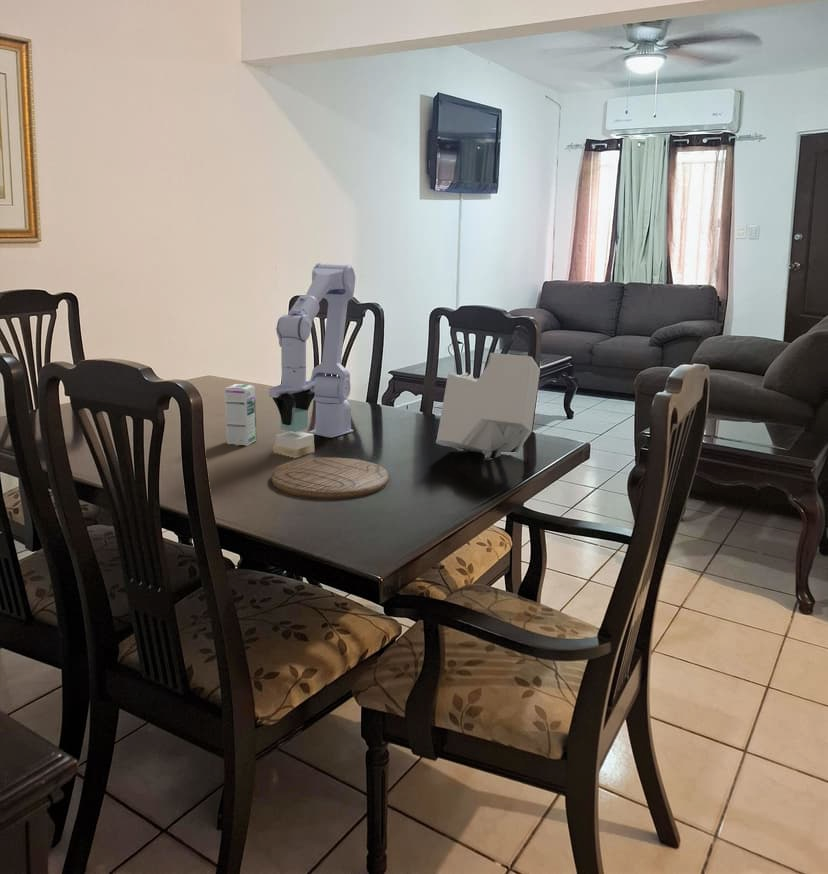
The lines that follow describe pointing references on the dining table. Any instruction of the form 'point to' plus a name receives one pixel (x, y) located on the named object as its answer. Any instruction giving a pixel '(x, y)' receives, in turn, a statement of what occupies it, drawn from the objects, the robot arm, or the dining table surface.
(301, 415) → the teal cube
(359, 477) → the trivet
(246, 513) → the dining table surface
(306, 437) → the tower top
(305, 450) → the tower base
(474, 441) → the grey stepped panel block
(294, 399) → the robot arm
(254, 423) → the syrup box
